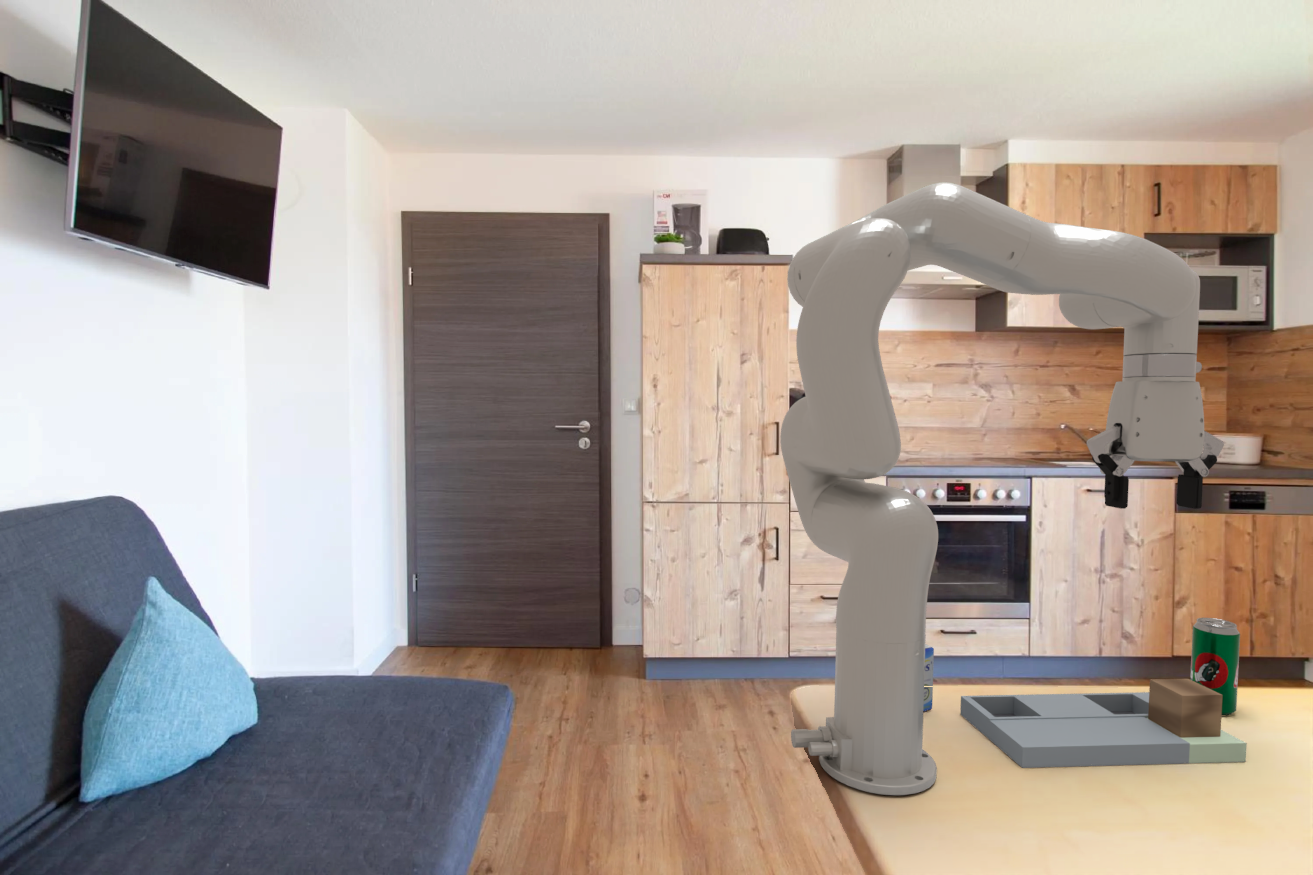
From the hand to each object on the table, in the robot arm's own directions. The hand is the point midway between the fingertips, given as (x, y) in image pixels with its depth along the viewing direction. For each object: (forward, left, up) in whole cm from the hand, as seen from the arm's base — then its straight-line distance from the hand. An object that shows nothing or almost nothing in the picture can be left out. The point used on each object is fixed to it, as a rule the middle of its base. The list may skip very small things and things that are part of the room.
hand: (1152, 507), depth 90 cm
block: (+1, -5, -26) cm, 27 cm away
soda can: (+14, +5, -28) cm, 32 cm away
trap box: (-8, -2, -28) cm, 29 cm away
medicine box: (-29, +7, -29) cm, 41 cm away
